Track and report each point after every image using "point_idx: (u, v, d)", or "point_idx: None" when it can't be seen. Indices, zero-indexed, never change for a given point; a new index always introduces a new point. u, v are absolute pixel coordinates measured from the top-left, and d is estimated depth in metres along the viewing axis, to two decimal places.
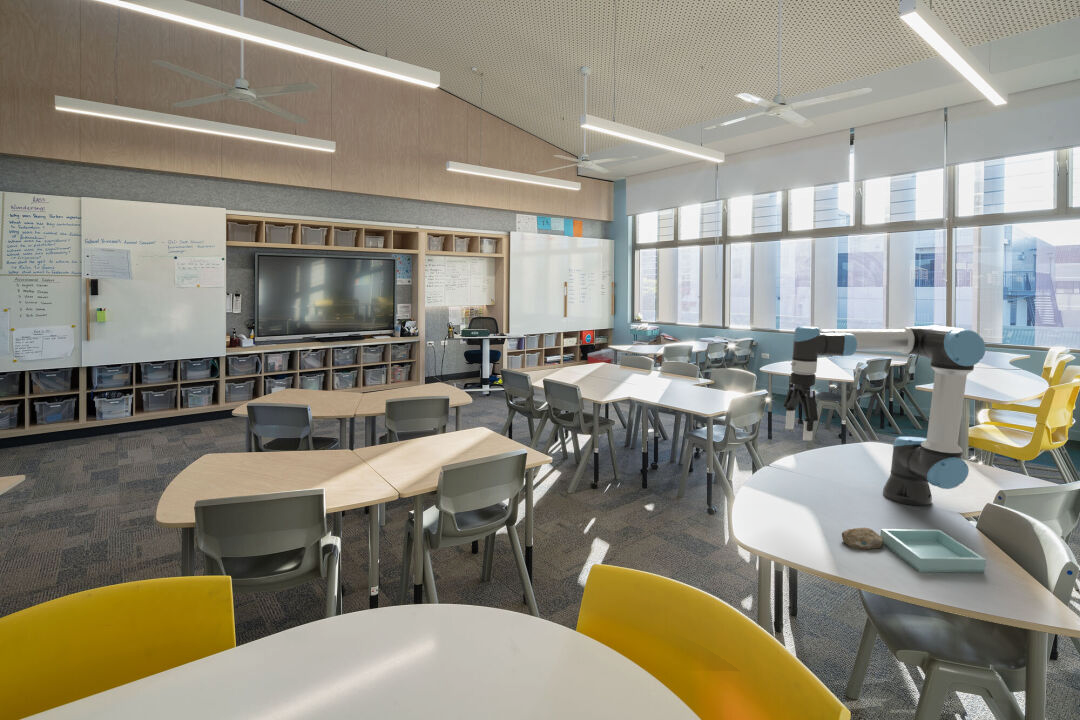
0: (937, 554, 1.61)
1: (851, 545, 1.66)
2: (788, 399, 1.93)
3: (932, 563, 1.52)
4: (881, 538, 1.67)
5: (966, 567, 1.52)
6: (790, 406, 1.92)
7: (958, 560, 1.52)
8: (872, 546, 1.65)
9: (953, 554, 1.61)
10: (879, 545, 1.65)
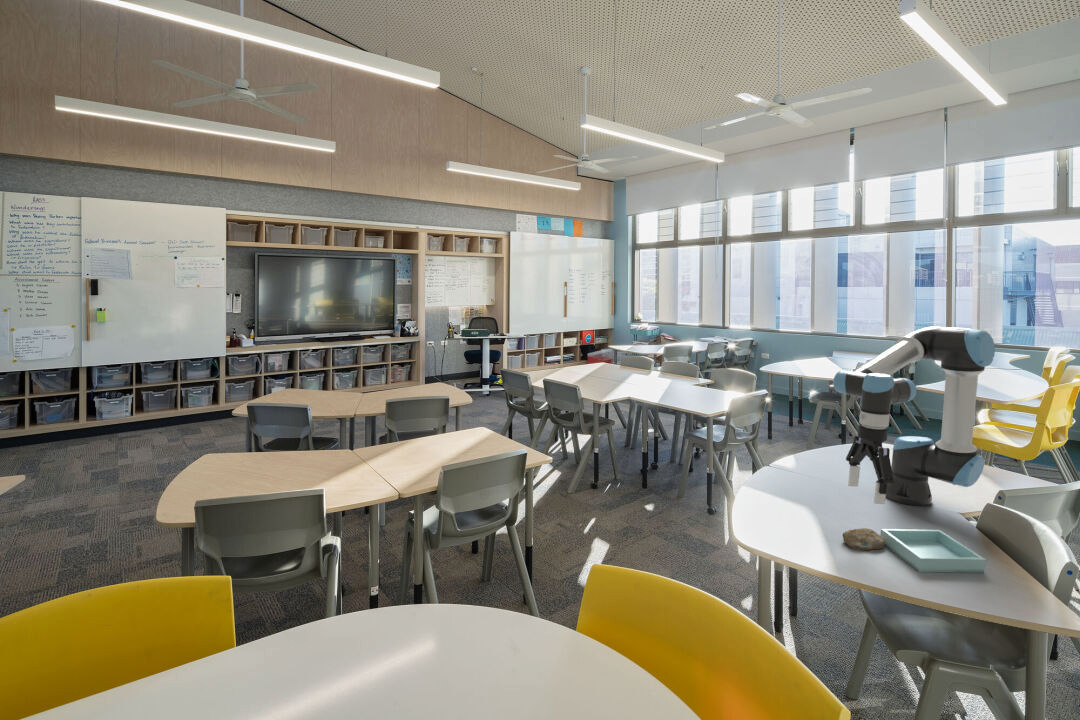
0: (937, 554, 1.61)
1: (852, 546, 1.65)
2: (852, 453, 1.72)
3: (932, 563, 1.52)
4: (882, 539, 1.66)
5: (966, 567, 1.52)
6: (855, 461, 1.71)
7: (958, 560, 1.52)
8: (873, 547, 1.64)
9: (953, 554, 1.61)
10: (880, 546, 1.65)
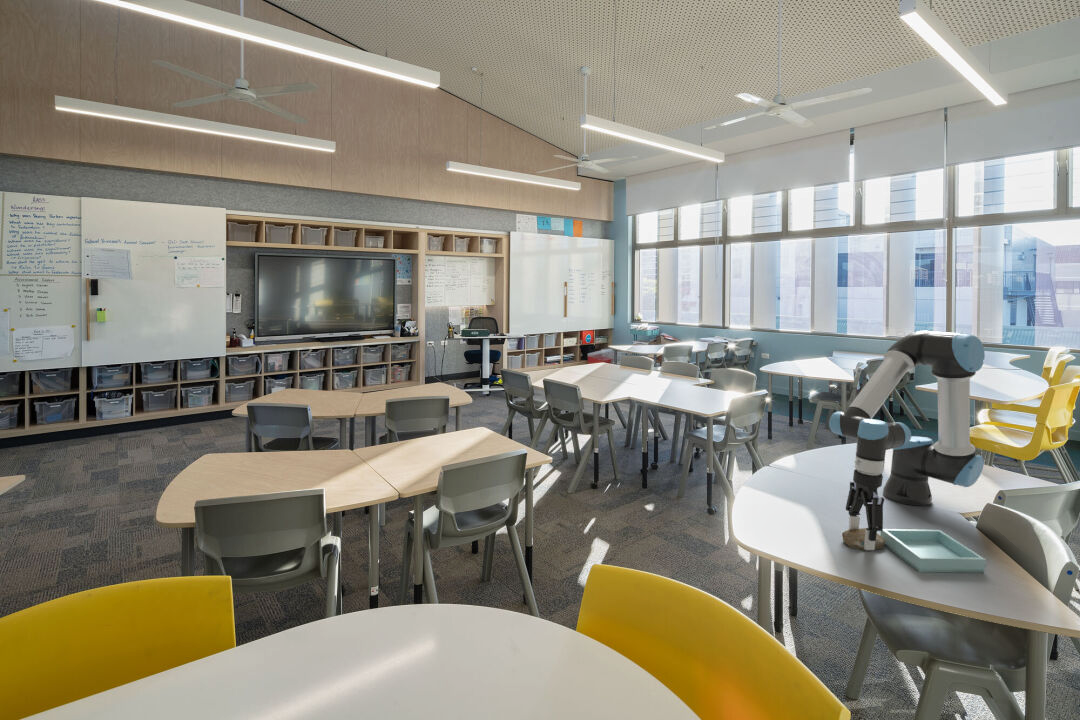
0: (937, 554, 1.61)
1: (851, 545, 1.66)
2: (850, 501, 1.73)
3: (932, 563, 1.52)
4: (882, 539, 1.66)
5: (966, 567, 1.52)
6: (854, 510, 1.71)
7: (958, 560, 1.52)
8: None
9: (953, 554, 1.61)
10: (879, 546, 1.65)
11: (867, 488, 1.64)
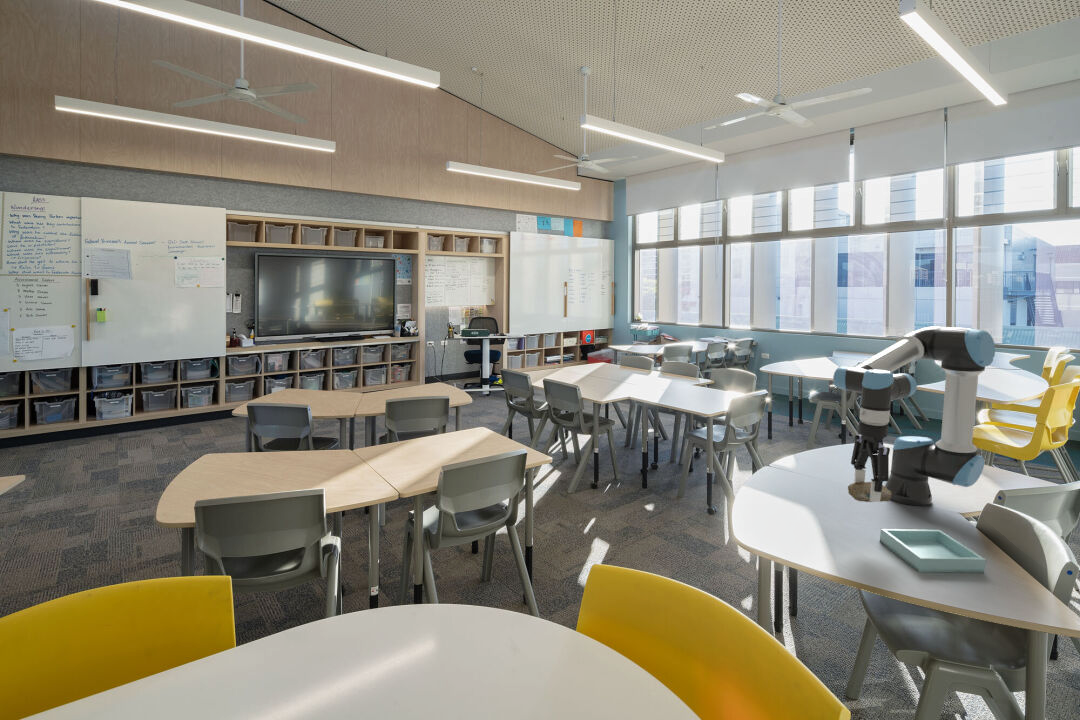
0: (937, 554, 1.61)
1: (856, 497, 1.64)
2: (856, 454, 1.70)
3: (932, 563, 1.52)
4: (888, 491, 1.64)
5: (966, 567, 1.52)
6: (859, 463, 1.69)
7: (958, 560, 1.52)
8: None
9: (953, 554, 1.61)
10: (886, 498, 1.63)
11: (872, 439, 1.61)
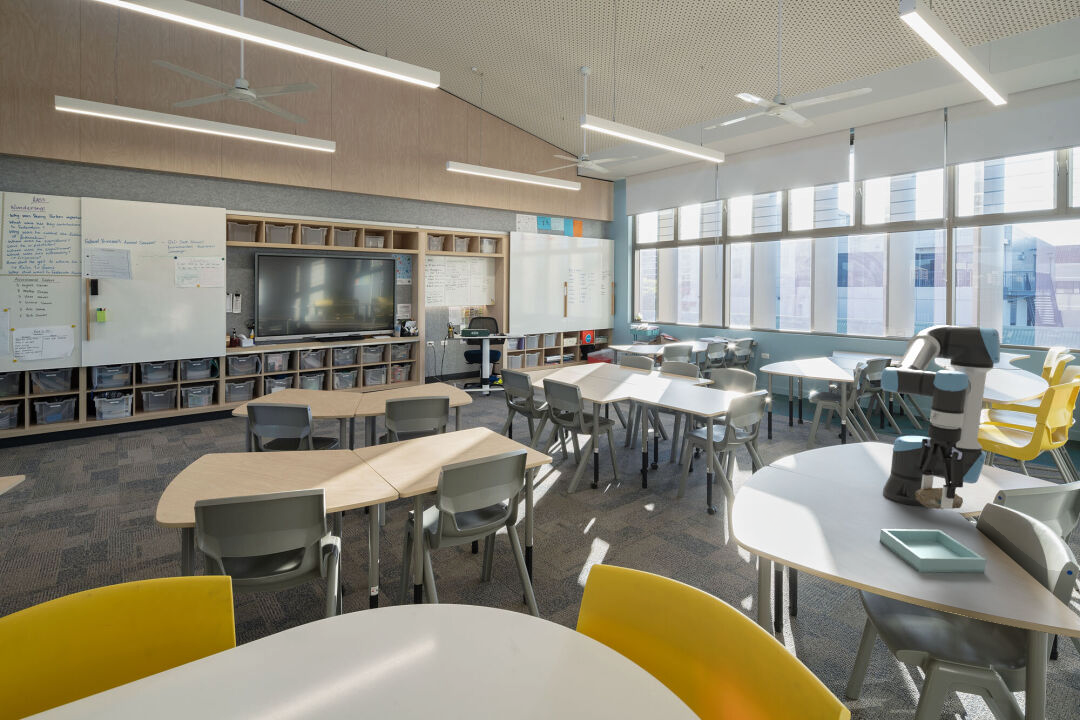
0: (937, 554, 1.61)
1: (925, 504, 1.57)
2: (923, 459, 1.63)
3: (932, 563, 1.52)
4: (960, 498, 1.56)
5: (966, 567, 1.52)
6: (927, 468, 1.62)
7: (958, 560, 1.52)
8: None
9: (953, 554, 1.61)
10: (957, 505, 1.55)
11: (945, 443, 1.54)
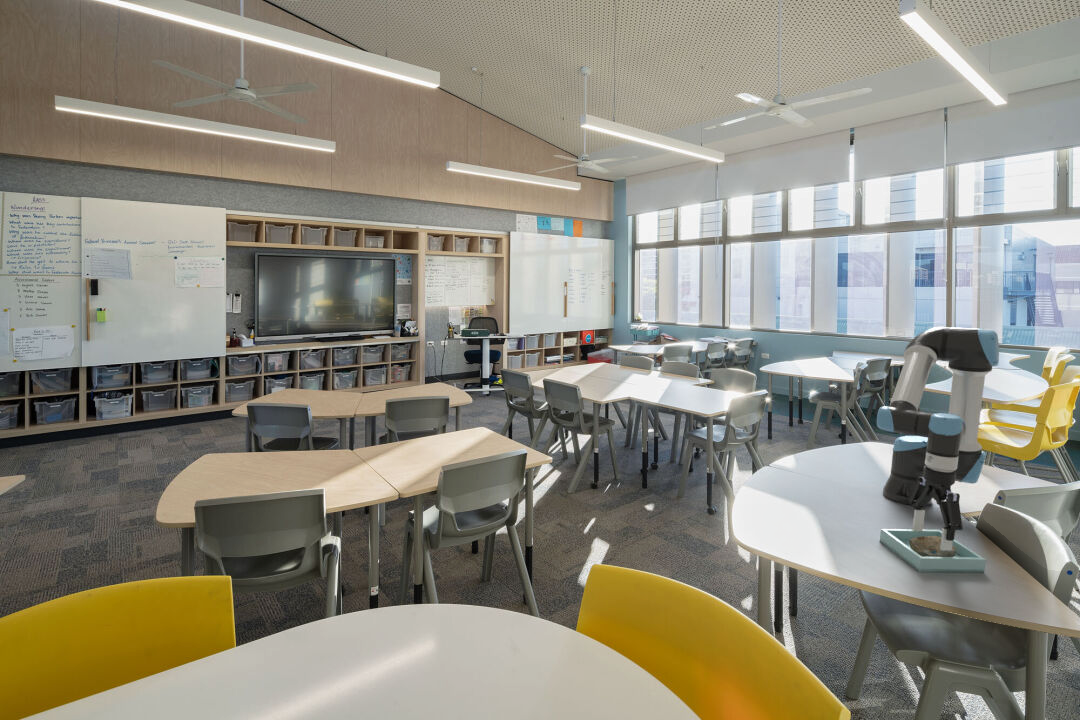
0: None
1: (919, 553, 1.59)
2: (916, 495, 1.66)
3: (932, 563, 1.52)
4: (953, 548, 1.59)
5: (966, 567, 1.52)
6: (920, 504, 1.65)
7: (958, 560, 1.52)
8: (942, 555, 1.58)
9: None
10: (950, 555, 1.58)
11: (939, 486, 1.56)
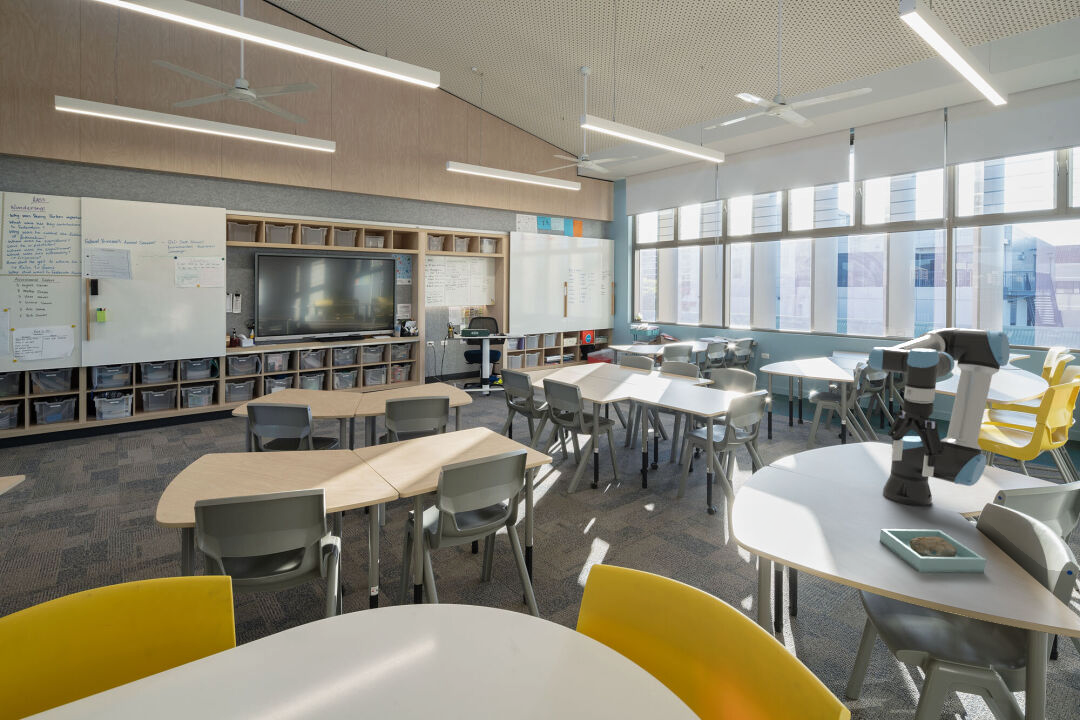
0: None
1: (919, 553, 1.59)
2: (895, 428, 1.75)
3: (932, 563, 1.52)
4: (954, 548, 1.59)
5: (966, 567, 1.52)
6: (898, 436, 1.74)
7: (958, 560, 1.52)
8: (943, 556, 1.57)
9: None
10: (951, 555, 1.58)
11: (917, 417, 1.64)
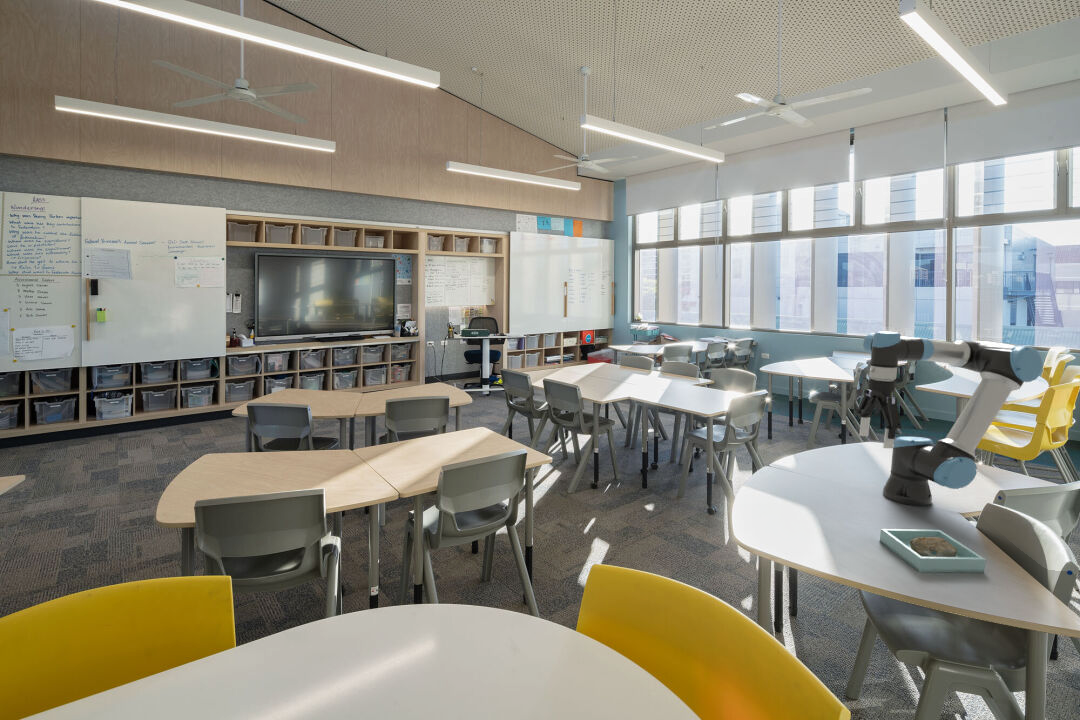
0: None
1: (919, 554, 1.59)
2: (863, 405, 1.89)
3: (932, 563, 1.52)
4: (954, 549, 1.58)
5: (966, 567, 1.52)
6: (865, 413, 1.88)
7: (958, 560, 1.52)
8: (943, 556, 1.57)
9: None
10: (951, 556, 1.57)
11: (880, 394, 1.79)
